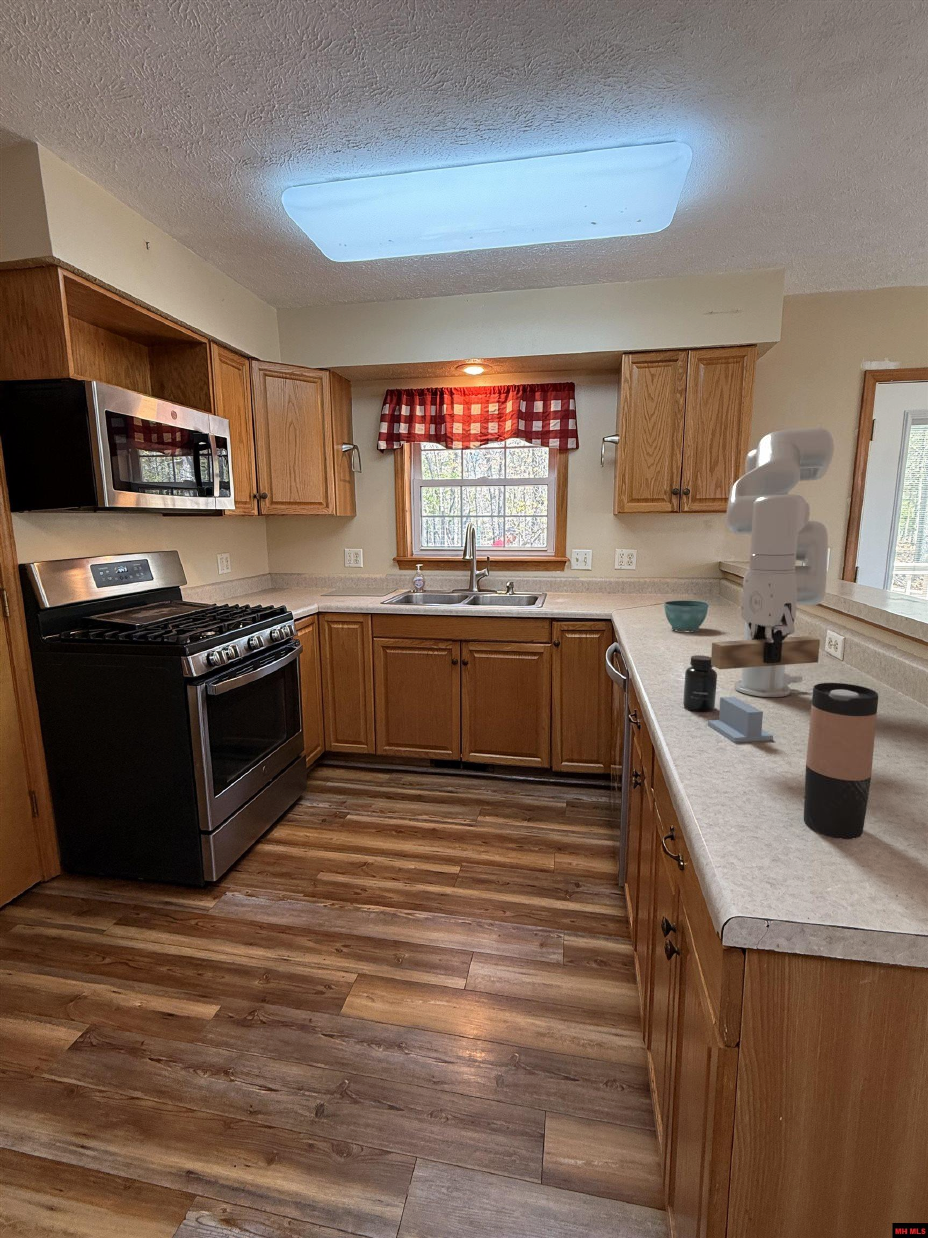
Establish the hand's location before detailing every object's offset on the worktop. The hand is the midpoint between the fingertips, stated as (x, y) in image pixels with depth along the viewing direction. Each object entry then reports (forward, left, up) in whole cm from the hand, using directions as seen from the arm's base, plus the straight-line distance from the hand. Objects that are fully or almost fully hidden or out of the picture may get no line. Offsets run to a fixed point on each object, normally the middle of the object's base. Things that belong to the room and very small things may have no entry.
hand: (765, 659), depth 110 cm
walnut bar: (0, 0, -1) cm, 1 cm away
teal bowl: (-41, -110, -17) cm, 119 cm away
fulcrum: (+1, -5, -17) cm, 18 cm away
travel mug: (+9, +31, -17) cm, 36 cm away
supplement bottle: (+1, -21, -17) cm, 27 cm away
